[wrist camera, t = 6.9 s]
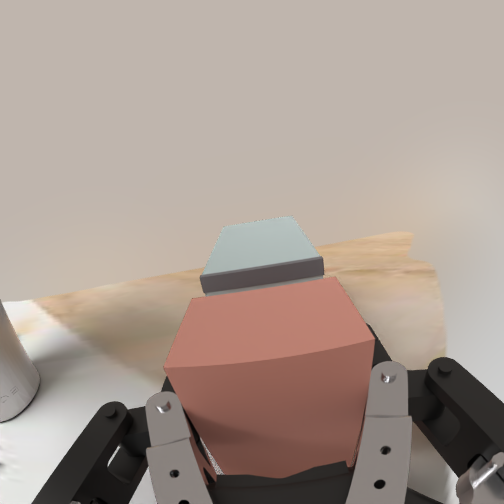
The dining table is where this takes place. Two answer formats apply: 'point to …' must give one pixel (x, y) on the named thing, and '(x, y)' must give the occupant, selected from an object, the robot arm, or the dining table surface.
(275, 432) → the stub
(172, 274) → the dining table surface
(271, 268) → the pale green block
